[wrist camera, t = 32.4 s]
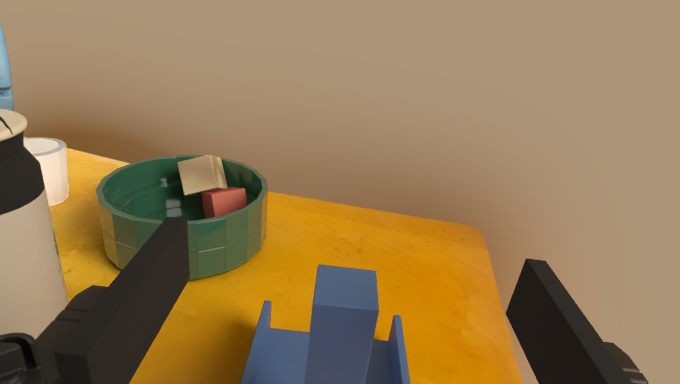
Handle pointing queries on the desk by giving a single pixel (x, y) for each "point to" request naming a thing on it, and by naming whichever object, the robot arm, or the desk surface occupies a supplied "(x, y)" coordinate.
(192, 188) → the maple block
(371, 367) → the scoop
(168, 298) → the robot arm
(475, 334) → the desk surface
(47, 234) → the travel mug
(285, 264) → the desk surface
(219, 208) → the brick block
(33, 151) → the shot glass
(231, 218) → the green pet bowl
